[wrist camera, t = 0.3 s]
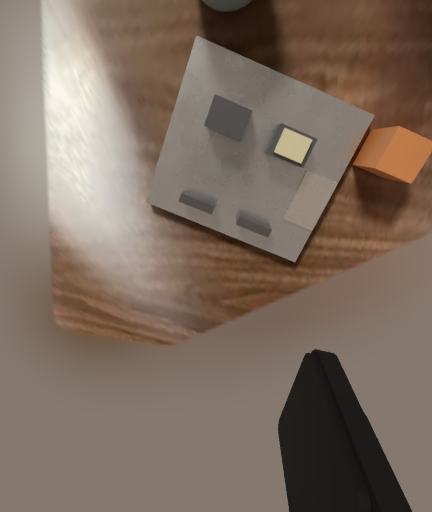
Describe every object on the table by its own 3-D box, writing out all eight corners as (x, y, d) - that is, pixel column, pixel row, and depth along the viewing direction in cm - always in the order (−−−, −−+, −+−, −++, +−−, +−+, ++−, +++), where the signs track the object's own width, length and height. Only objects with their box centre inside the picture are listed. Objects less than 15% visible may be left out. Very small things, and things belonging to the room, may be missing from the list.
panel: (198, 40, 31) (192, 26, 27) (368, 116, 32) (385, 112, 28) (149, 199, 37) (139, 205, 33) (292, 257, 38) (298, 269, 34)
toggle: (216, 98, 31) (214, 93, 28) (251, 113, 31) (252, 110, 28) (206, 127, 32) (203, 125, 29) (240, 141, 32) (240, 141, 29)
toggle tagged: (277, 124, 31) (281, 122, 28) (310, 139, 32) (318, 138, 28) (265, 152, 32) (268, 153, 29) (297, 166, 33) (304, 168, 29)
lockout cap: (371, 129, 32) (399, 125, 27) (403, 143, 33) (437, 143, 27) (352, 164, 34) (374, 168, 28) (382, 177, 34) (411, 184, 28)
